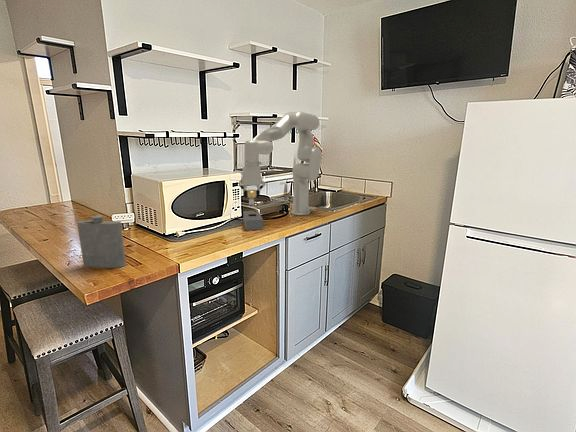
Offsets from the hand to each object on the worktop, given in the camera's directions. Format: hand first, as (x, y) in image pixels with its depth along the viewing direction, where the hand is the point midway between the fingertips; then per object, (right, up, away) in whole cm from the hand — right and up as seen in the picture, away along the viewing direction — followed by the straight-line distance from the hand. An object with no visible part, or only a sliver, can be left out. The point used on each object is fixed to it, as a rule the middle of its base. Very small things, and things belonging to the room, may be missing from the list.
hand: (251, 197), depth 180 cm
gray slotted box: (0, -15, +4) cm, 16 cm away
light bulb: (0, -5, +1) cm, 5 cm away
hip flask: (-51, -30, -53) cm, 79 cm away
